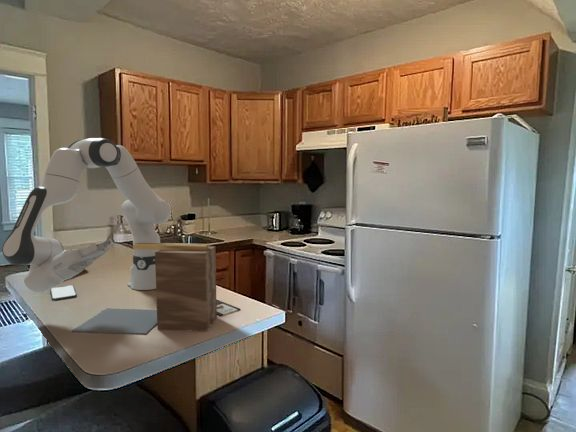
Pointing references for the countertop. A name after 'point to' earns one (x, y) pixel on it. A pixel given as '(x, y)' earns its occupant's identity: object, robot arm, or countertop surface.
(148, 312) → the rubber mat
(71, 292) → the phone case
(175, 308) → the walnut shelf
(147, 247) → the ochre block
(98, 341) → the countertop surface
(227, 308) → the chocolate bar
